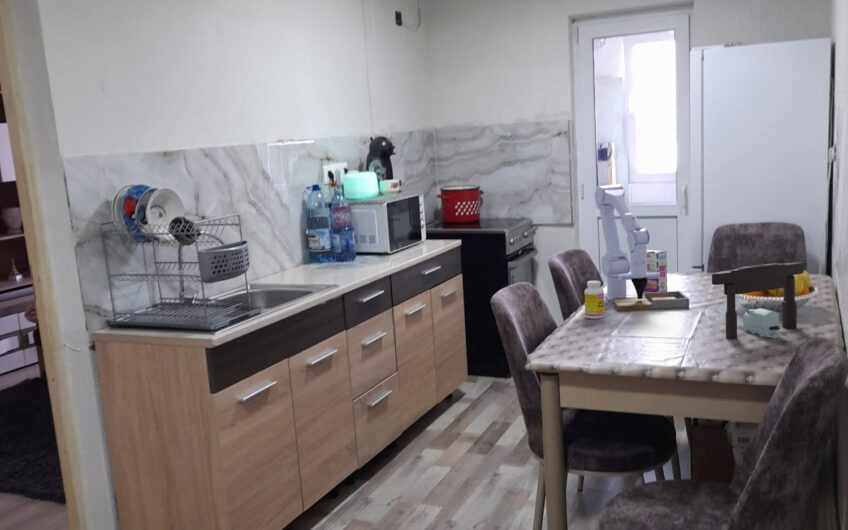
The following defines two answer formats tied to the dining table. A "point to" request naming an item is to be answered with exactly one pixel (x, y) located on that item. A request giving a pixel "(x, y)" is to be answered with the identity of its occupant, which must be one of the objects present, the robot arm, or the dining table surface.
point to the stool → (753, 282)
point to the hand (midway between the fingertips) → (639, 298)
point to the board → (631, 304)
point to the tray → (668, 300)
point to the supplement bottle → (594, 300)
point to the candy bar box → (654, 265)
